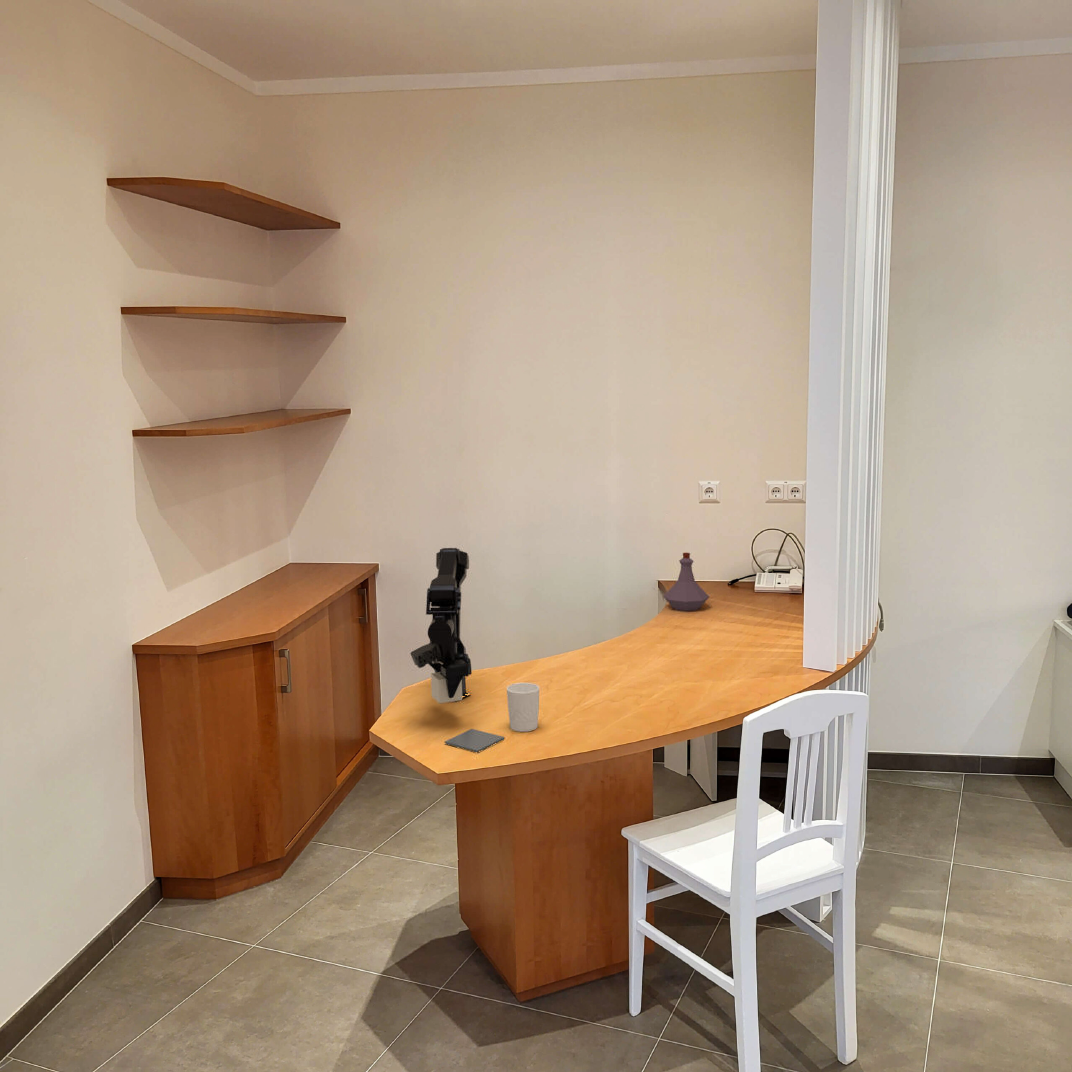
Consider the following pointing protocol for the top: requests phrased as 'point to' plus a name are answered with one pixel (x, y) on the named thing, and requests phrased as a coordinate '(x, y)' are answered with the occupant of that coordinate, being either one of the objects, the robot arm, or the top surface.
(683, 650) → the top surface
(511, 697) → the white cup
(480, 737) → the coaster
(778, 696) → the top surface
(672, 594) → the flask
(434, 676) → the cube
